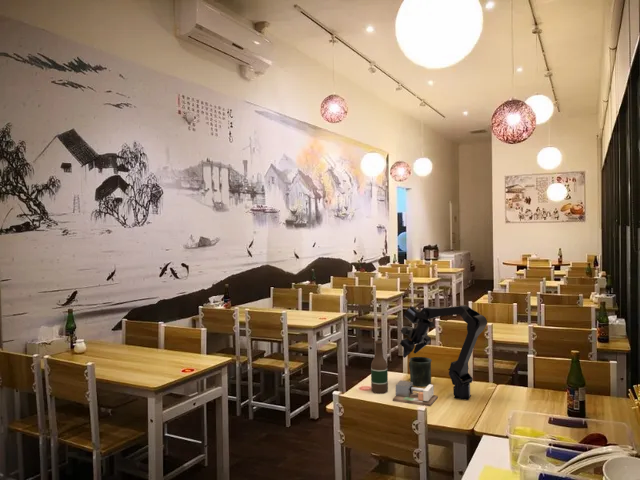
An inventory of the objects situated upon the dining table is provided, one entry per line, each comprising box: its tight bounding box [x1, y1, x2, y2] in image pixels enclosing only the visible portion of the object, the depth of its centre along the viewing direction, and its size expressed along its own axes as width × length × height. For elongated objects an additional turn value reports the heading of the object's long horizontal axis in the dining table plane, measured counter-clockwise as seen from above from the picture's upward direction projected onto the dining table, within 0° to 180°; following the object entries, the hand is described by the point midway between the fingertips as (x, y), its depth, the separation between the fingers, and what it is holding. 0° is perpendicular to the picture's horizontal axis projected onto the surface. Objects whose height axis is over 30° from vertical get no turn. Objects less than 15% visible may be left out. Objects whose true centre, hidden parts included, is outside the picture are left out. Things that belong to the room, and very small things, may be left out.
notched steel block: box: [395, 380, 414, 398], centre depth 228 cm, size 6×7×5 cm
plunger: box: [411, 383, 435, 401], centre depth 224 cm, size 9×10×4 cm
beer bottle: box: [370, 339, 389, 395], centre depth 236 cm, size 8×8×24 cm
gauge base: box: [392, 391, 438, 407], centre depth 225 cm, size 17×12×1 cm
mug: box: [408, 356, 432, 388], centre depth 248 cm, size 11×15×12 cm
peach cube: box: [417, 392, 423, 401], centre depth 220 cm, size 2×2×3 cm
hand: (409, 355), depth 247 cm, fingers open, 9 cm apart
